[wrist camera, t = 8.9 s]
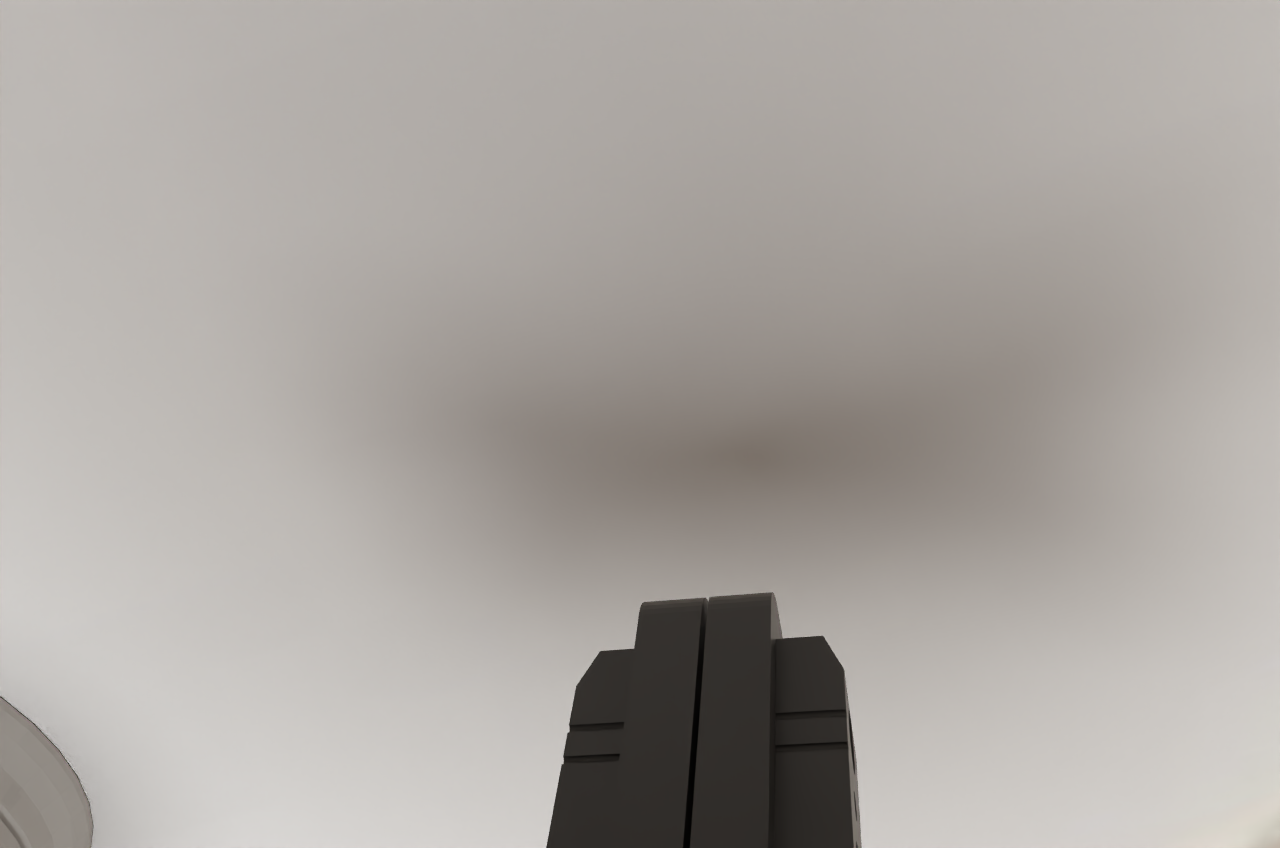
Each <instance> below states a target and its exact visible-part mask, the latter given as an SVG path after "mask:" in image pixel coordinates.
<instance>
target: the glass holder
mask: <svg viewBox="0 0 1280 848" xmlns="http://www.w3.org/2000/svg"><path fill="white" fill-rule="evenodd" d="M92 832H93V823H92V818H91V812H90V807H89V802H88V800H87V798H86V795H85V793H84V791H83V789H82V787H81V784H80V782H79V780H78V778H77V776H76V775H75V773H74V772H73V770H72V769H71V767H70V766H69V765H68V763H67V762H66V760H65V759H64V757H63V756H62V755H61V753H60V752H59V750H58V749H57V748H56V747H55V746H54V745H53V744H52V743H51V742H50V741H49V740H48V739H47V738H46V737H45V736H44V735H43V734H42V733H41V731H40V730H39V729H38V728H37V727H36V726H35V725H34V724H33V723H32V722H30V721H29V720H28V719H27V718H25V717H24V716H23V715H22V714H21V713H19V712H18V711H17V710H16V709H14V708H13V707H12V706H11V705H9V704H8V703H7V702H6V701H5V700H3V699H2V698H1V697H0V848H91V841H92Z"/></svg>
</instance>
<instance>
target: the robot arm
mask: <svg viewBox="0 0 1280 848" xmlns="http://www.w3.org/2000/svg"><path fill="white" fill-rule="evenodd" d="M569 726H570V732H569V733H568V734H567V739H566V745H565V750H564V756H563V757H564V764H562V766H561V772H560V777H559V783H558V788H557V793H556V799H555V804H554V810H553V815H552V820H551V826H550V831H549V836H548V842H547V847H546V848H862V847H861V830H860V814H859V797H858V781H857V765H856V755H855V747H854V740H853V733H852V725H851V718H850V710H849V703H848V696H847V688H846V681H845V673H844V669H843V667H842V666H841V664H840V662H839V661H838V659H837V658H836V656H835V654H834V653H833V651H832V650H831V648H830V646H829V645H828V643H827V642H826V640H825V638H824V637H823V636H814V637H799V638H784V639H783V638H782V632H781V626H780V620H779V614H778V608H777V603H776V598H775V595H774V593H773V592H771V593H758V594H744V595H731V596H717V597H710V598H709V601H708V600H707V599H706V598H695V599H681V600H668V601H654V602H644V603H642V605H641V608H640V612H639V619H638V626H637V633H636V641H635V648H634V649H625V650H610V651H600V652H599V654H598V655H597V657H596V658H595V660H594V661H593V663H592V664H591V666H590V667H589V669H588V670H587V671H586V673H585V674H584V676H583V677H582V679H581V680H580V682H579V683H578V685H577V686H576V691H575V696H574V702H573V707H572V712H571V718H570V723H569Z"/></svg>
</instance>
